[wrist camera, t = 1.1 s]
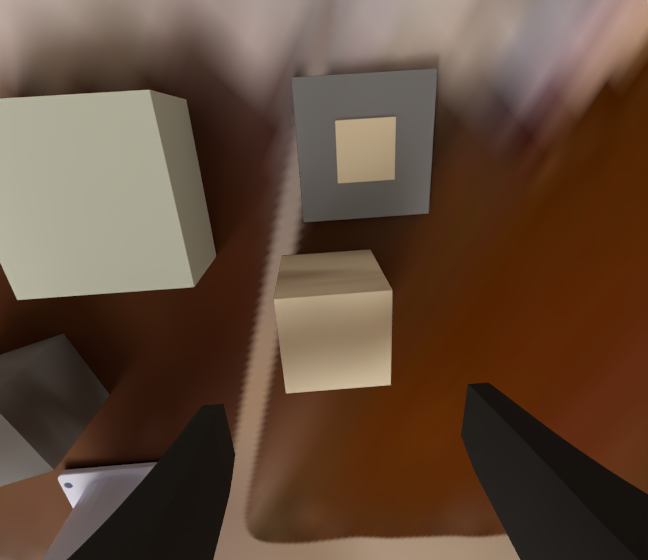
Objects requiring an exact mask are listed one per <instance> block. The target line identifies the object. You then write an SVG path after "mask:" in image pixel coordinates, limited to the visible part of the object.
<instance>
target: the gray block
mask: <svg viewBox="0 0 648 560" xmlns="http://www.w3.org/2000/svg"><path fill="white" fill-rule="evenodd" d="M109 396H110V394H109V393H108V392H107V390H106V389H105V388H104V386H103V385H102V384H101V382H100V381H99V380H98V378H97V377H96V376H95V374H94V373H93V372H92V370H91V369H90V368H89V366H88V365H87V364H86V363H85V361H84V360H83V359H82V357H81V356H80V355H79V353H78V352H77V351H76V349H75V348H74V347H73V345H72V344H71V343H70V341H69V340H68V339H67V337H66V336H65V335H64V334H61V335H58V336H55V337H52V338H49V339H46V340H43V341H40V342H37V343H34V344H31V345H28V346H25V347H22V348H19V349H16V350H13V351H10V352H7V353H4V354H1V355H0V486H3V485H6V484H10V483H13V482H17V481H20V480H23V479H27V478H30V477H33V476H37V475H40V474H43V473H47V472H50V471H53V470H55V469H56V467H57V466H58V464H59V463H60V462H61V460H62V459H63V458H64V456H65V455H66V454H67V452H68V451H69V450H70V448H71V447H72V446H73V444H74V443H75V442H76V440H77V439H78V437H79V436H80V435H81V433H82V432H83V431H84V429H85V428H86V427H87V425H88V424H89V423H90V421H91V420H92V419H93V417H94V416H95V415H96V413H97V412H98V410H99V409H100V408H101V406H102V405H103V404H104V402H105V401H106V400H107V398H108V397H109Z"/></svg>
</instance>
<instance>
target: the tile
mask: <svg viewBox="0 0 648 560" xmlns="http://www.w3.org/2000/svg"><path fill="white" fill-rule="evenodd" d="M291 80H292V91H293V103H294V115H295V127H296V138H297V150H298V162H299V174H300V186H301V197H302V209H303V221H304V222H316V221H330V220H344V219H358V218H372V217H386V216H400V215H414V214H428V213H429V199H430V183H431V166H432V150H433V133H434V117H435V100H436V83H437V68H435V69H419V70H403V71H387V72H371V73H355V74H339V75H323V76H307V77H291Z"/></svg>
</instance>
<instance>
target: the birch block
mask: <svg viewBox="0 0 648 560" xmlns="http://www.w3.org/2000/svg"><path fill="white" fill-rule="evenodd" d="M274 306H275V314H276V322H277V329H278V337H279V344H280V352H281V359H282V367H283V375H284V382H285V390H286V393H297V392H310V391H322V390H335V389H347V388H359V387H372V386H384V385H391V340H392V288H391V287H390V285H389V283H388V281H387V279H386V277H385V276H384V274H383V272H382V270H381V268H380V266H379V265H378V263H377V261H376V259H375V257H374V255H373V254H372V252H371V250H370V249H369V250H356V251H342V252H328V253H315V254H301V255H282V258H281V264H280V268H279V274H278V279H277V285H276V290H275V294H274Z"/></svg>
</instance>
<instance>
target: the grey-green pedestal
mask: <svg viewBox="0 0 648 560" xmlns="http://www.w3.org/2000/svg"><path fill="white" fill-rule="evenodd" d="M215 257H216V251H215V246H214V241H213V236H212V231H211V225H210V220H209V215H208V210H207V205H206V199H205V194H204V189H203V184H202V179H201V173H200V168H199V163H198V158H197V153H196V147H195V142H194V137H193V132H192V127H191V121H190V116H189V111H188V106H187V101H186V99H182V98H179V97H175V96H171V95H167V94H164V93H160V92H156V91H153V90H135V91H119V92H102V93H86V94H69V95H52V96H36V97H19V98H2V99H0V263H1V265H2V268H3V270H4V272H5V274H6V276H7V279H8V281H9V283H10V285H11V287H12V289H13V292H14V294H15V296H16V298H17V300H24V299H38V298H52V297H65V296H79V295H93V294H107V293H120V292H134V291H148V290H161V289H175V288H189V287H195V285H196V284H197V283H198V281H199V280H200V278H201V277H202V276H203V274H204V273H205V271H206V270H207V269H208V267H209V266H210V264H211V263H212V262H213V260H214V259H215Z"/></svg>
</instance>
